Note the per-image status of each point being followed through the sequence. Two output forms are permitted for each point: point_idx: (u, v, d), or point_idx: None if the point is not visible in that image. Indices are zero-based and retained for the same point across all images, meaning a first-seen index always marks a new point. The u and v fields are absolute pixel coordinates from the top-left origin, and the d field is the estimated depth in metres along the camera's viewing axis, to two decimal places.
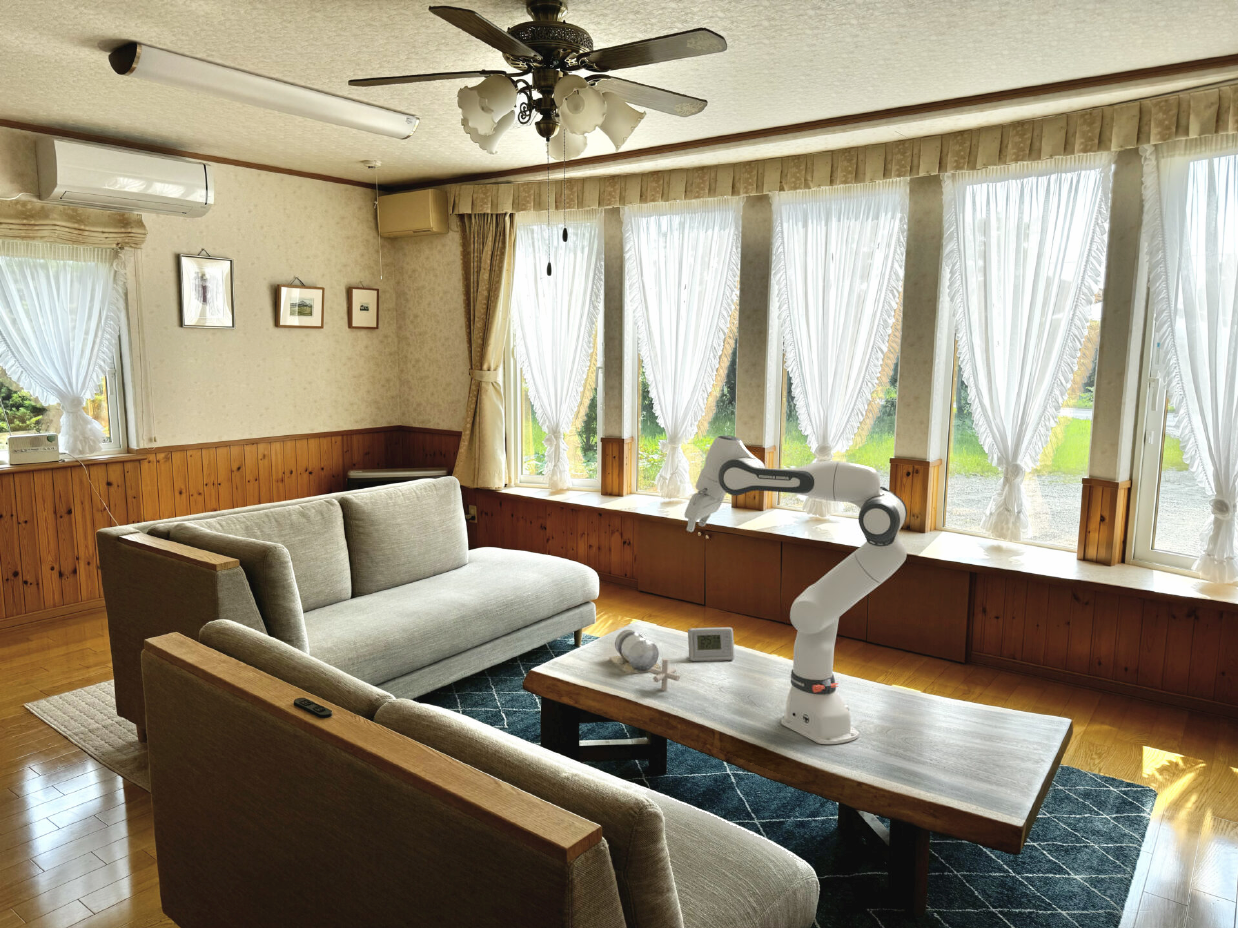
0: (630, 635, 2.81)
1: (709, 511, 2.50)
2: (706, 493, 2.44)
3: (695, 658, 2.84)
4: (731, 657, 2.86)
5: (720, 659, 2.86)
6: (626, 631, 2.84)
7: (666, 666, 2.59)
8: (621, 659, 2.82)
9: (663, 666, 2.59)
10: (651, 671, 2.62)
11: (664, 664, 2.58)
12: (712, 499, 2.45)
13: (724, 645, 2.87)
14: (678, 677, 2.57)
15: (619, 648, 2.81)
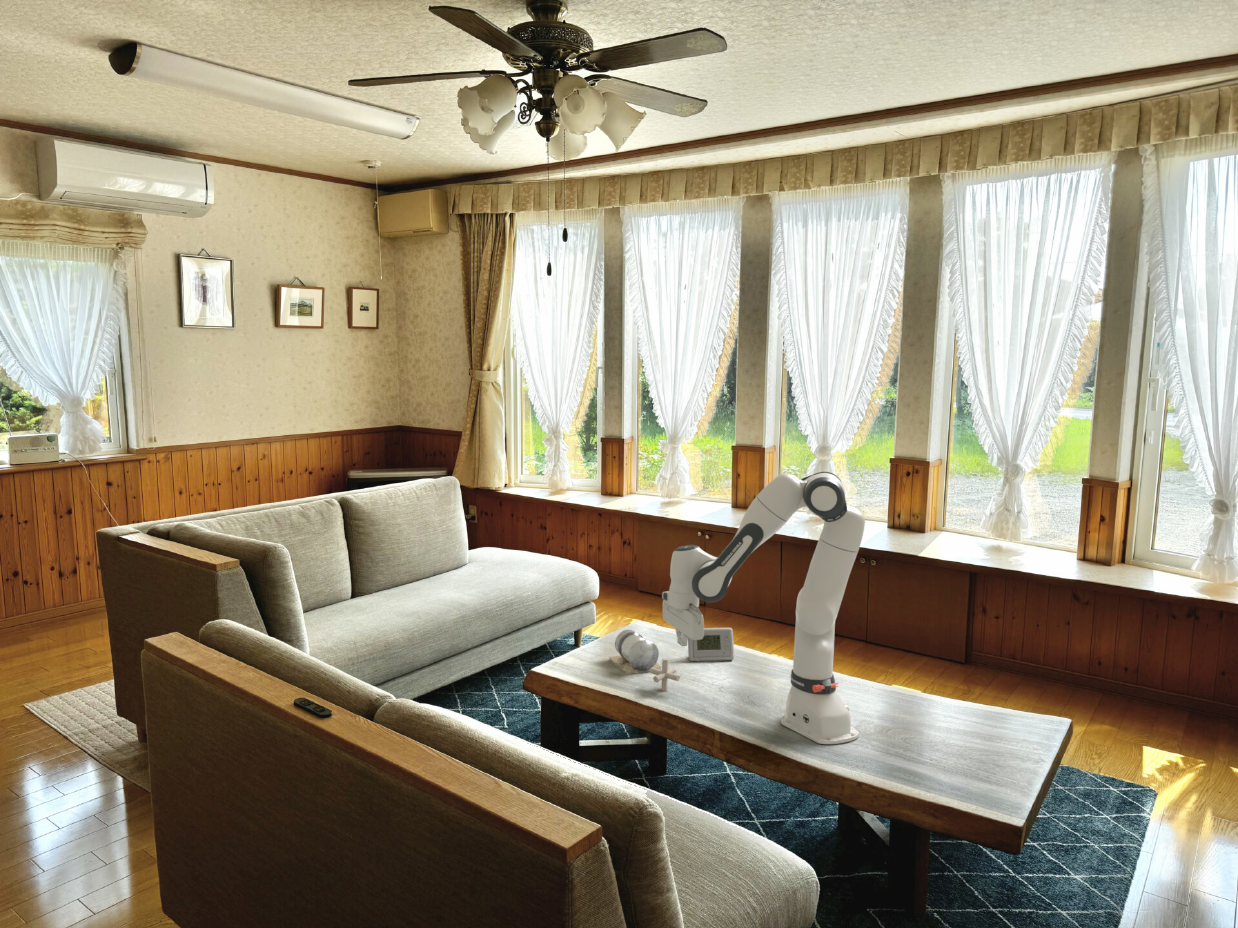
0: (630, 635, 2.81)
1: None
2: None
3: (695, 658, 2.84)
4: (731, 657, 2.86)
5: (720, 659, 2.86)
6: (626, 631, 2.84)
7: (666, 666, 2.59)
8: (621, 659, 2.82)
9: (663, 666, 2.59)
10: (651, 671, 2.62)
11: (664, 664, 2.58)
12: None
13: (724, 645, 2.87)
14: (678, 677, 2.57)
15: (619, 648, 2.81)
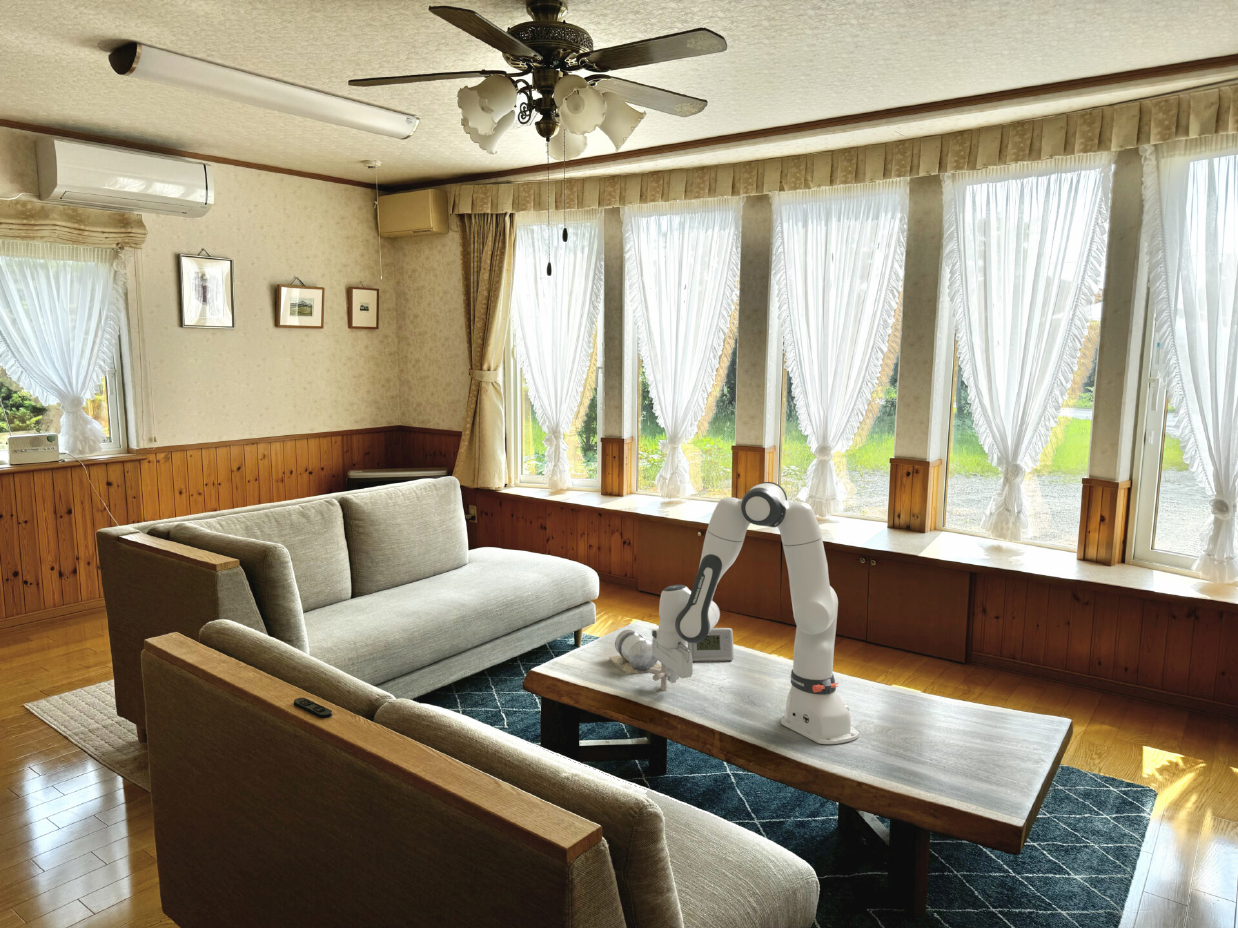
0: (630, 635, 2.81)
1: None
2: None
3: (694, 658, 2.84)
4: (730, 658, 2.86)
5: (719, 660, 2.86)
6: (626, 631, 2.84)
7: None
8: (621, 659, 2.82)
9: (662, 665, 2.59)
10: (650, 671, 2.62)
11: None
12: None
13: (723, 646, 2.86)
14: (677, 676, 2.57)
15: (619, 648, 2.81)
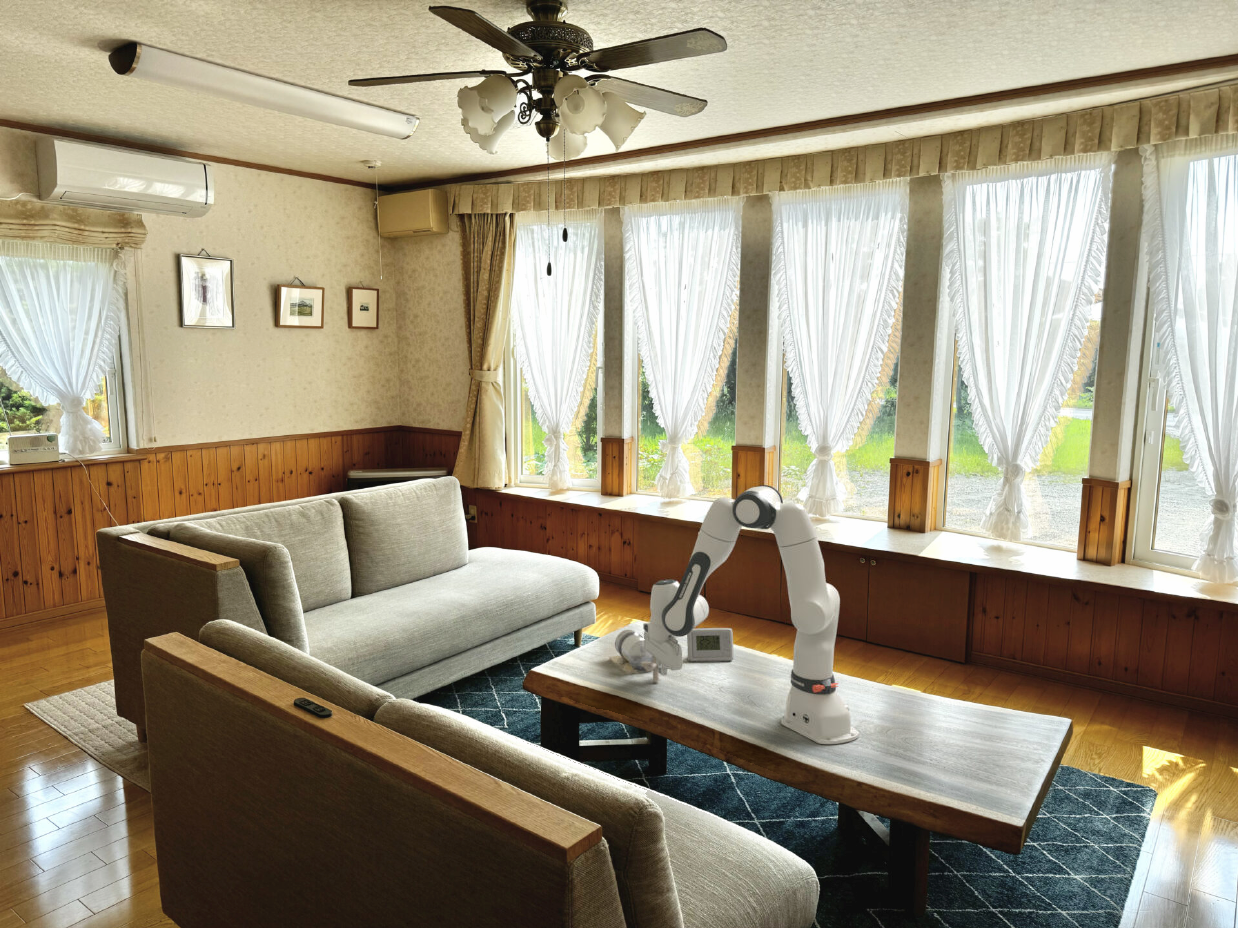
0: (630, 635, 2.81)
1: None
2: None
3: (694, 658, 2.84)
4: (730, 658, 2.86)
5: (719, 660, 2.85)
6: (626, 631, 2.84)
7: None
8: (621, 659, 2.82)
9: None
10: (642, 664, 2.68)
11: None
12: None
13: (723, 646, 2.86)
14: None
15: (619, 648, 2.81)
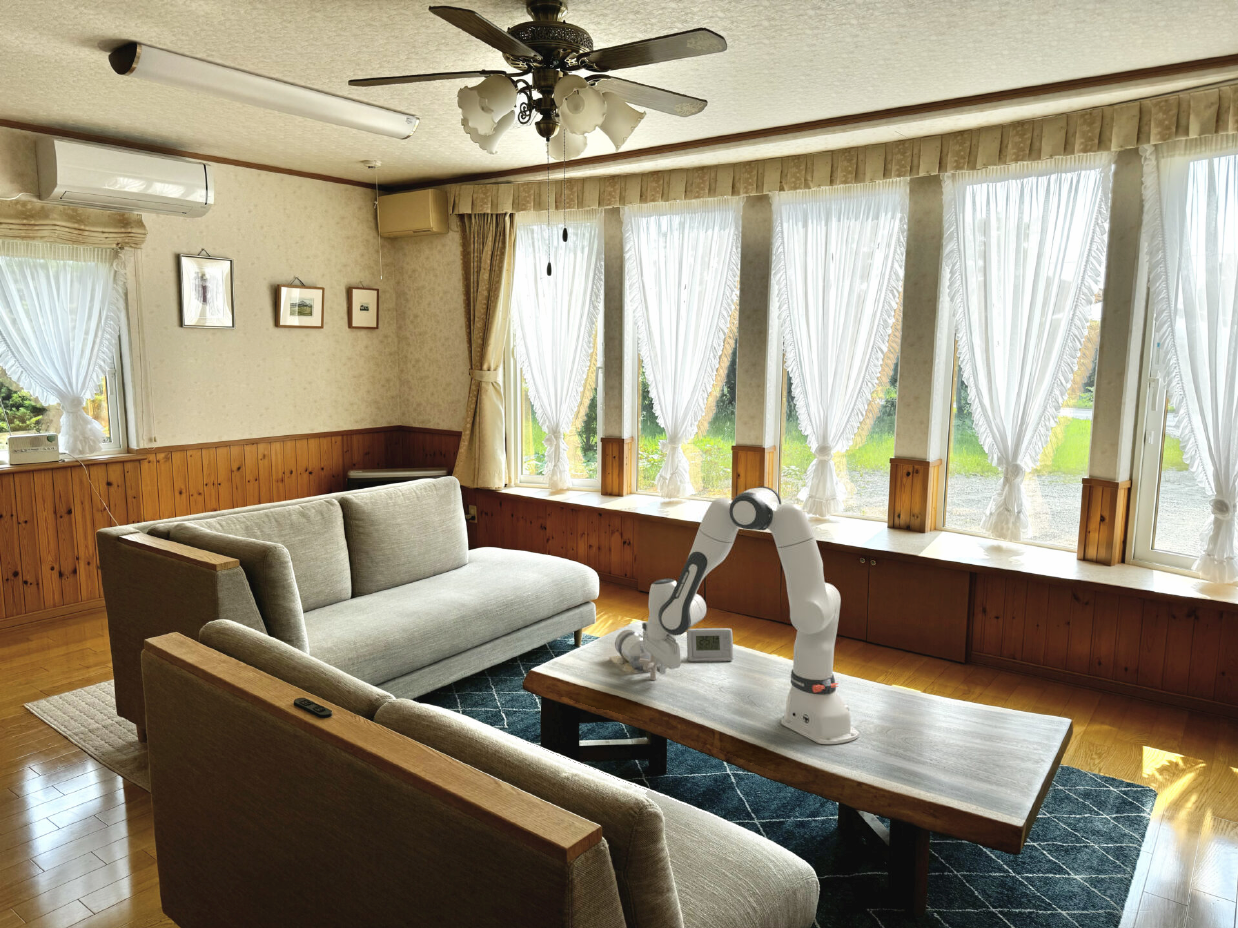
0: (630, 635, 2.81)
1: None
2: None
3: (693, 658, 2.84)
4: (730, 658, 2.85)
5: (719, 660, 2.85)
6: (626, 631, 2.84)
7: None
8: (621, 659, 2.82)
9: (652, 655, 2.67)
10: (640, 661, 2.70)
11: None
12: None
13: (723, 646, 2.86)
14: None
15: (619, 648, 2.81)
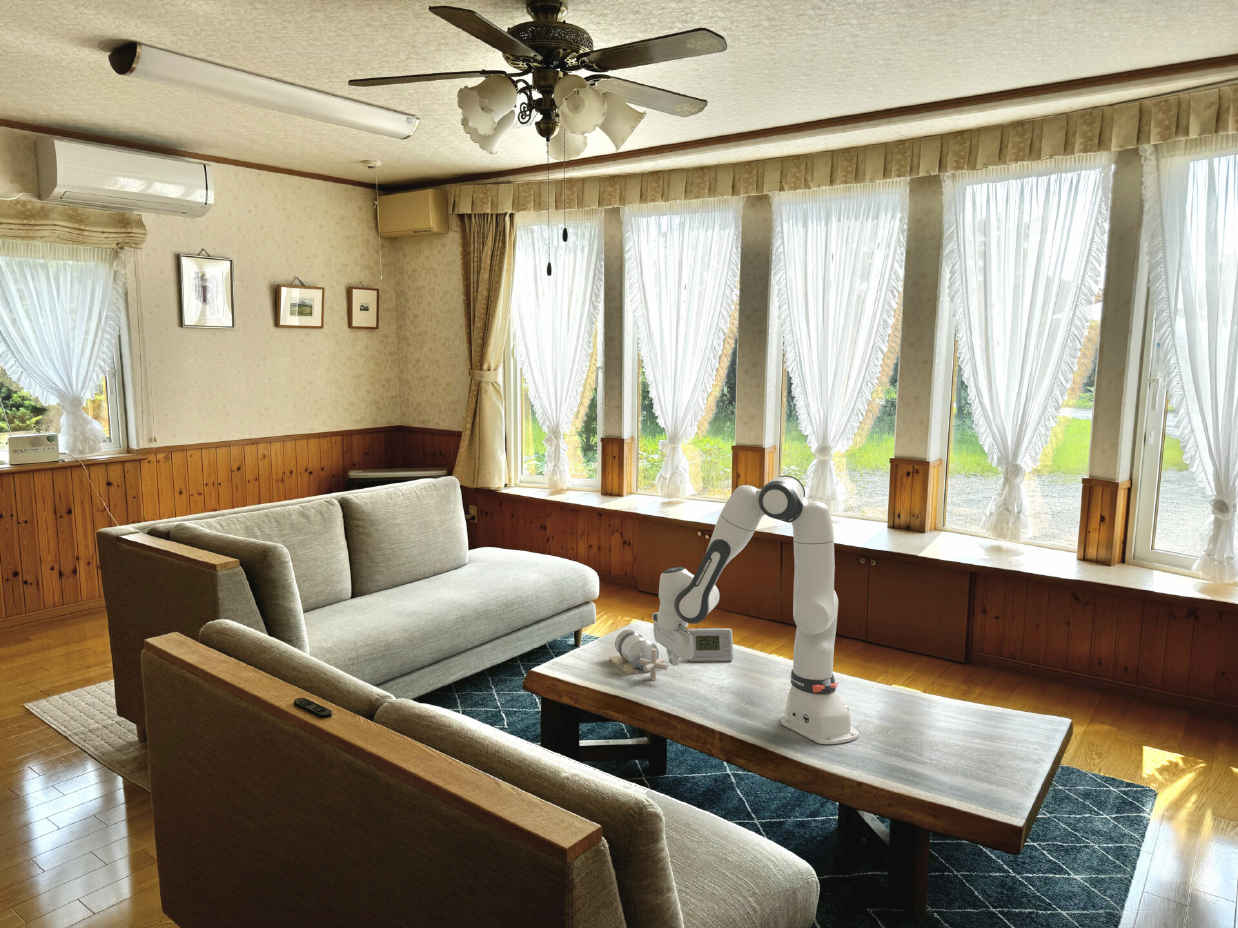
0: (630, 635, 2.81)
1: None
2: None
3: (693, 658, 2.84)
4: (730, 658, 2.85)
5: (718, 660, 2.85)
6: (626, 631, 2.84)
7: (655, 656, 2.67)
8: (621, 659, 2.82)
9: (652, 656, 2.67)
10: (640, 661, 2.70)
11: (653, 654, 2.67)
12: None
13: (723, 646, 2.86)
14: (667, 666, 2.65)
15: (619, 648, 2.81)
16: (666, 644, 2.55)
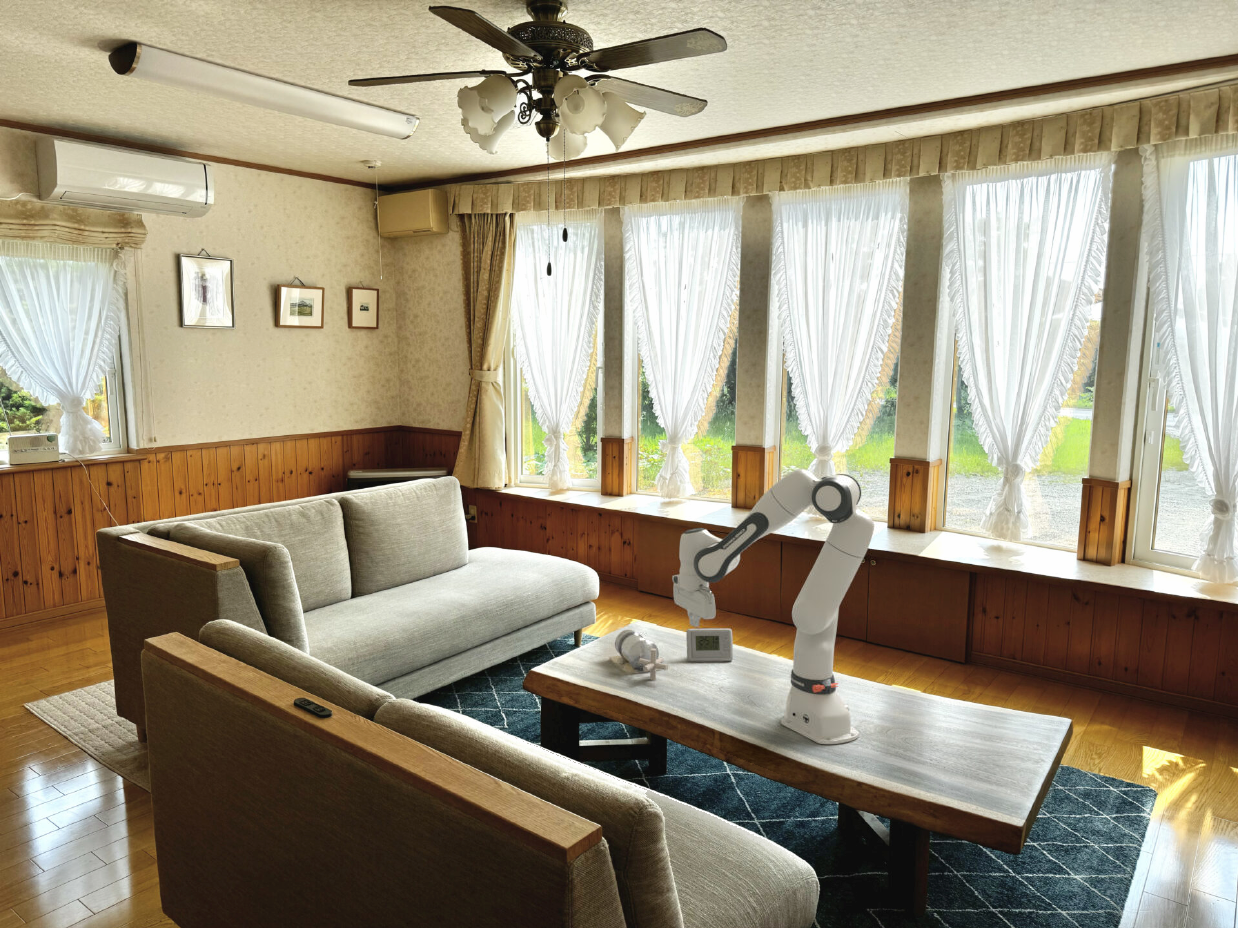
0: (630, 635, 2.81)
1: None
2: None
3: (693, 658, 2.84)
4: (729, 658, 2.85)
5: (718, 660, 2.85)
6: (626, 631, 2.84)
7: (655, 656, 2.67)
8: (621, 659, 2.82)
9: (652, 656, 2.67)
10: (640, 662, 2.69)
11: (653, 654, 2.67)
12: None
13: (723, 646, 2.86)
14: (667, 666, 2.65)
15: (619, 648, 2.81)
16: (687, 606, 2.54)
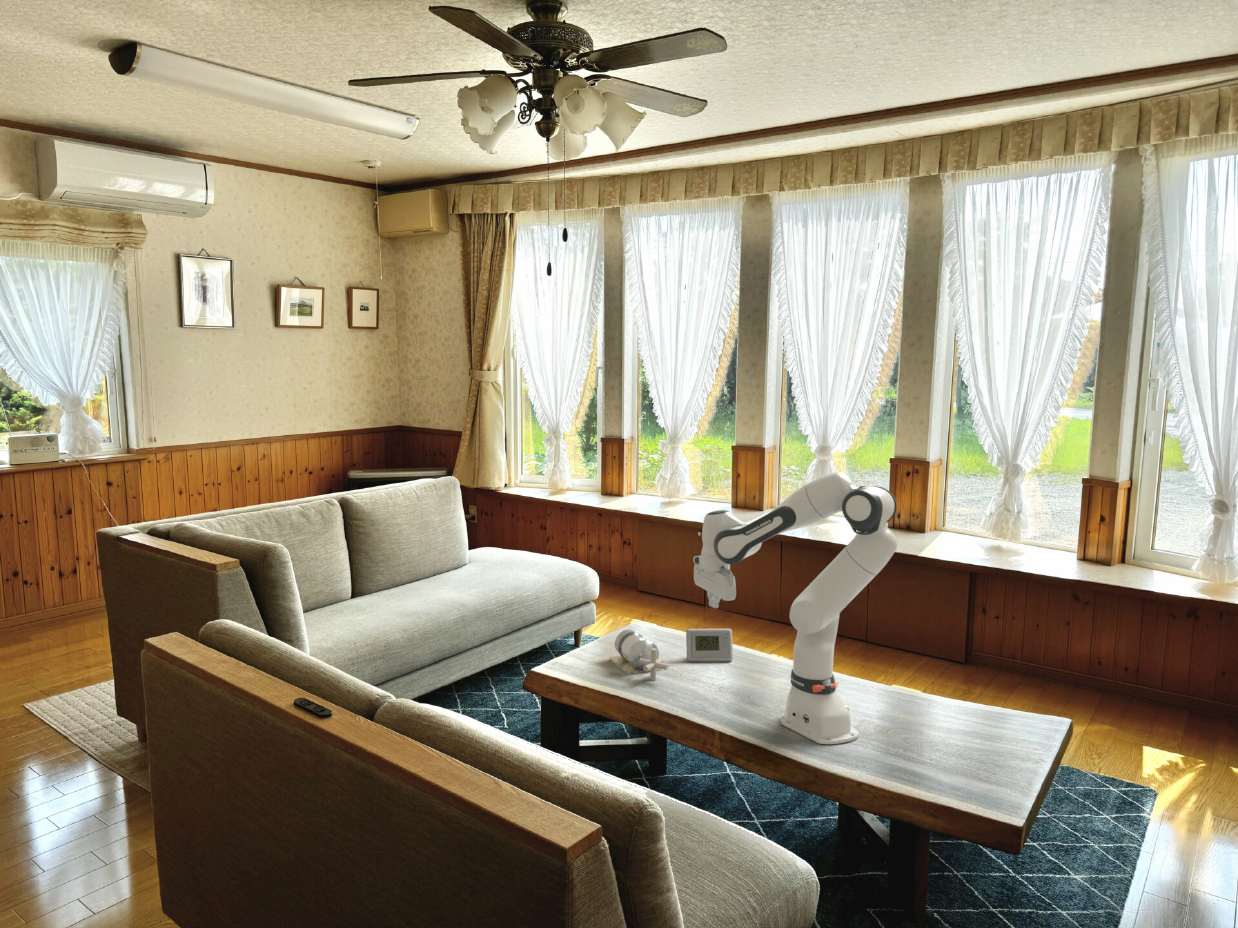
0: (630, 635, 2.81)
1: None
2: None
3: (693, 659, 2.84)
4: (729, 658, 2.85)
5: (718, 660, 2.85)
6: (626, 631, 2.84)
7: (655, 656, 2.67)
8: (621, 659, 2.82)
9: (652, 656, 2.67)
10: (640, 661, 2.70)
11: (653, 654, 2.67)
12: None
13: (722, 646, 2.86)
14: (667, 666, 2.65)
15: (619, 648, 2.81)
16: (707, 587, 2.56)
